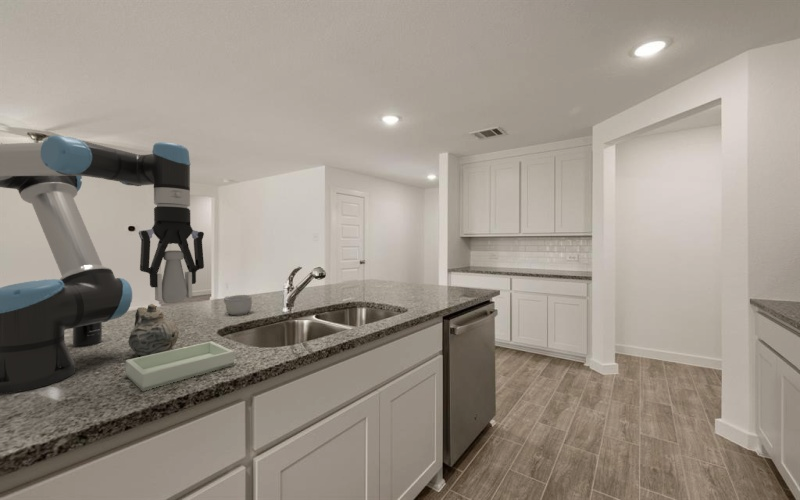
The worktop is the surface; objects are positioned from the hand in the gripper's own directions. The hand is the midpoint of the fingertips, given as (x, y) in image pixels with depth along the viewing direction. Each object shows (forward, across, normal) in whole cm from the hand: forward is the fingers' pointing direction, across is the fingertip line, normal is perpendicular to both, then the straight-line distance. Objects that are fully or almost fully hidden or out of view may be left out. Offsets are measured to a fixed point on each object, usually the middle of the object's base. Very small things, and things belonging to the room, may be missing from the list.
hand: (174, 298), depth 83 cm
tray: (+19, +2, 0) cm, 19 cm away
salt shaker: (+1, 0, 0) cm, 1 cm away
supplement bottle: (+19, -10, +48) cm, 52 cm away
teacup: (+19, +41, +56) cm, 71 cm away
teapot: (+19, 0, +20) cm, 28 cm away
